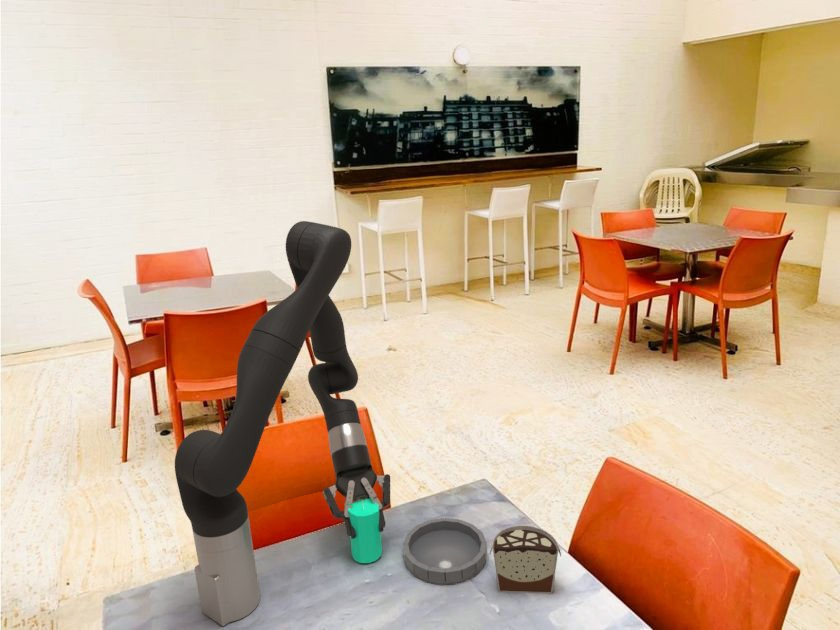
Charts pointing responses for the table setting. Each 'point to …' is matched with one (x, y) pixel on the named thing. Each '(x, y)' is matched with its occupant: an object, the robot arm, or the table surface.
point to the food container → (525, 560)
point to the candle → (365, 531)
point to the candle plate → (445, 551)
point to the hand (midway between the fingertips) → (367, 534)
